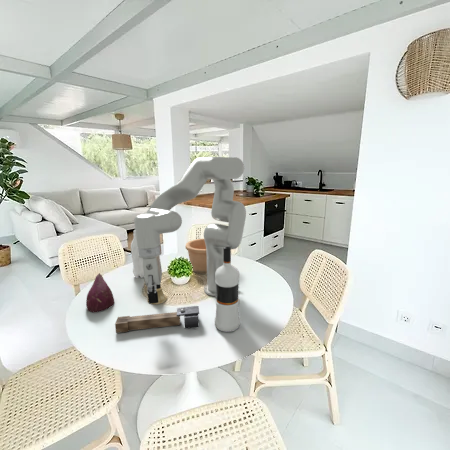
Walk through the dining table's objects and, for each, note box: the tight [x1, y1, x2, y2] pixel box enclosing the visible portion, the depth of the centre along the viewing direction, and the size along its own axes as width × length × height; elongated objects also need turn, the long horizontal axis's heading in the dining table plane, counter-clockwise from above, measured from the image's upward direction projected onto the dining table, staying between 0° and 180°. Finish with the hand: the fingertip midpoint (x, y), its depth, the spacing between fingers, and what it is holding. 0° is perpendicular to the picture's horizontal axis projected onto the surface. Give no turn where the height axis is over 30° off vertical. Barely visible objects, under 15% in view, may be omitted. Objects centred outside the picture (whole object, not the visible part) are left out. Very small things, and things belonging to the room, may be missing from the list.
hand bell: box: [147, 286, 168, 305], centre depth 108 cm, size 8×8×16 cm
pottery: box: [185, 238, 207, 275], centre depth 142 cm, size 22×22×14 cm
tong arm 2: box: [116, 311, 177, 321], centre depth 92 cm, size 22×2×4 cm, turn 100°
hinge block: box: [176, 305, 200, 330], centre depth 93 cm, size 8×7×6 cm
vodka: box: [214, 246, 241, 333], centre depth 89 cm, size 9×9×30 cm
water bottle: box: [130, 229, 144, 279], centre depth 130 cm, size 7×7×25 cm
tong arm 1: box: [114, 315, 181, 333], centre depth 90 cm, size 22×2×4 cm, turn 100°
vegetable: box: [85, 273, 115, 314], centre depth 105 cm, size 10×10×15 cm
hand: (155, 295), depth 90 cm, fingers open, 9 cm apart
